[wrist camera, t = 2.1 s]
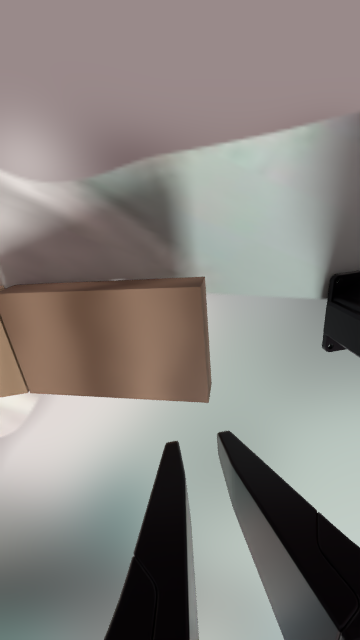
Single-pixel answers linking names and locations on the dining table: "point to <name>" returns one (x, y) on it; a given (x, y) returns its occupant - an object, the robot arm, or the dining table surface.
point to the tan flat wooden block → (112, 338)
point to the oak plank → (9, 366)
